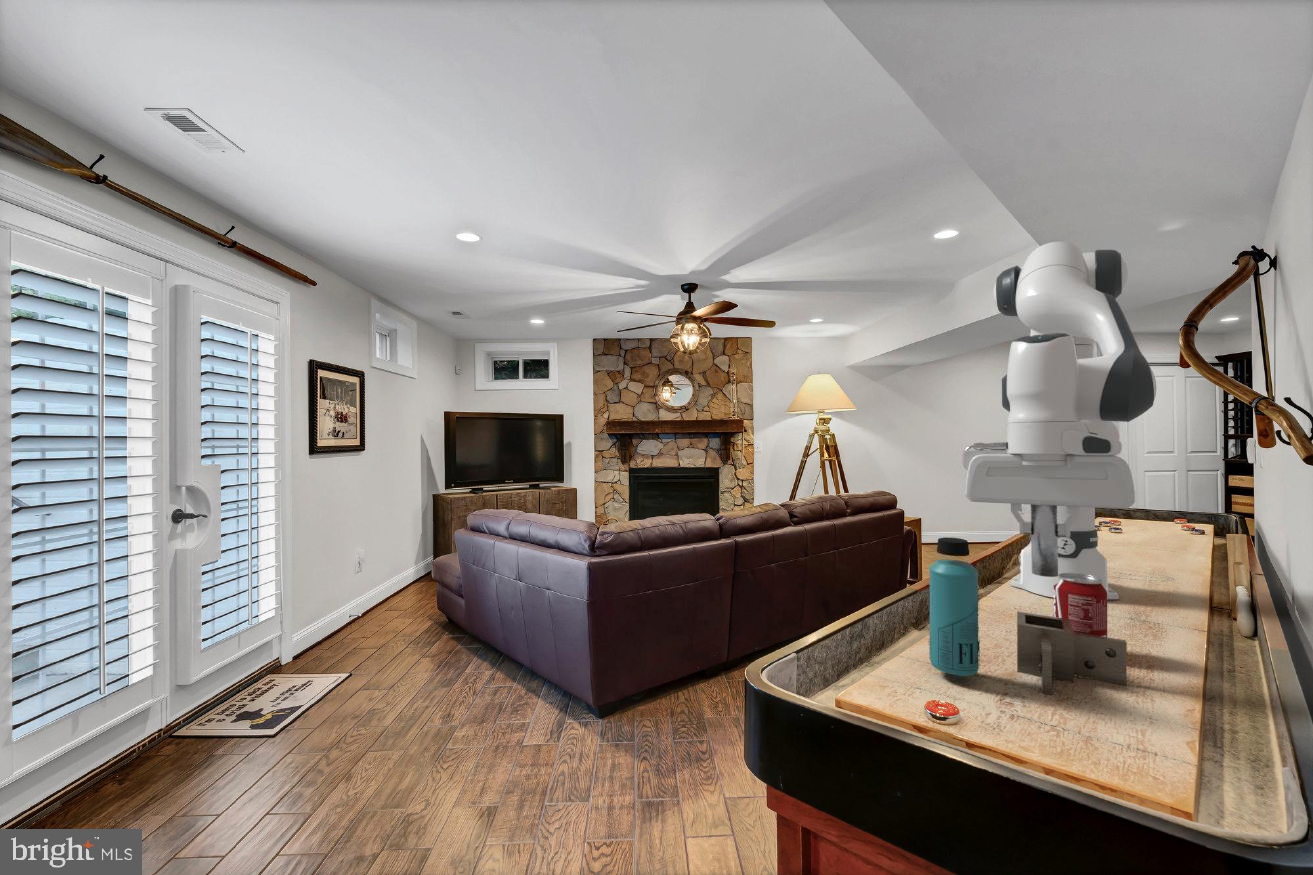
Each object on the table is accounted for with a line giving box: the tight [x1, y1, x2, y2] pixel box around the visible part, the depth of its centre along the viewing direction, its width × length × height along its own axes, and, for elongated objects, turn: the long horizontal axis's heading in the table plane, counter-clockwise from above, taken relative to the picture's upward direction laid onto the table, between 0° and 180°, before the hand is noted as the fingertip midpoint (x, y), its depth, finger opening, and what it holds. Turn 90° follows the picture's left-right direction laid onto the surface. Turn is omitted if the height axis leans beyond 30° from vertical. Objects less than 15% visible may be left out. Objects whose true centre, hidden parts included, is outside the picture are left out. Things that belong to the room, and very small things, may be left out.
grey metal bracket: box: [1016, 611, 1128, 696], centre depth 76 cm, size 13×13×7 cm
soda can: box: [1052, 573, 1108, 637], centre depth 86 cm, size 7×7×12 cm
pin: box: [1030, 505, 1058, 577], centre depth 80 cm, size 3×3×12 cm
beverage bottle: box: [928, 536, 981, 677], centre depth 78 cm, size 6×7×20 cm
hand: (1044, 535), depth 80 cm, fingers closed on pin, 3 cm apart
